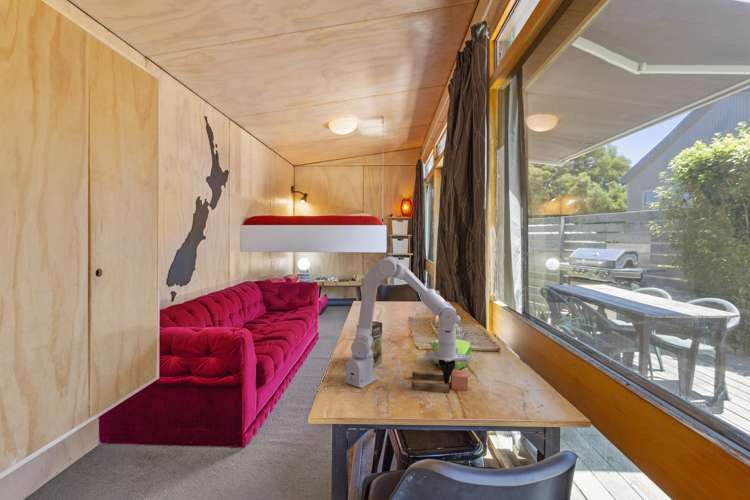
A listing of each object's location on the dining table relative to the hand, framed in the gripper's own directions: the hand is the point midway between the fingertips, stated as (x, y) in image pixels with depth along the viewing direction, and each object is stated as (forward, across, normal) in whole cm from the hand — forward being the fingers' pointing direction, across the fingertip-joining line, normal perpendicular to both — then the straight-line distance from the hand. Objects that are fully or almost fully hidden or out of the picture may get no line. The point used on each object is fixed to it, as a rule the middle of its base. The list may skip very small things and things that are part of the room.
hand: (446, 382), depth 111 cm
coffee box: (+1, -28, +13) cm, 31 cm away
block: (+1, +4, 0) cm, 4 cm away
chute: (+1, -6, 0) cm, 7 cm away
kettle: (+2, +3, +16) cm, 17 cm away
